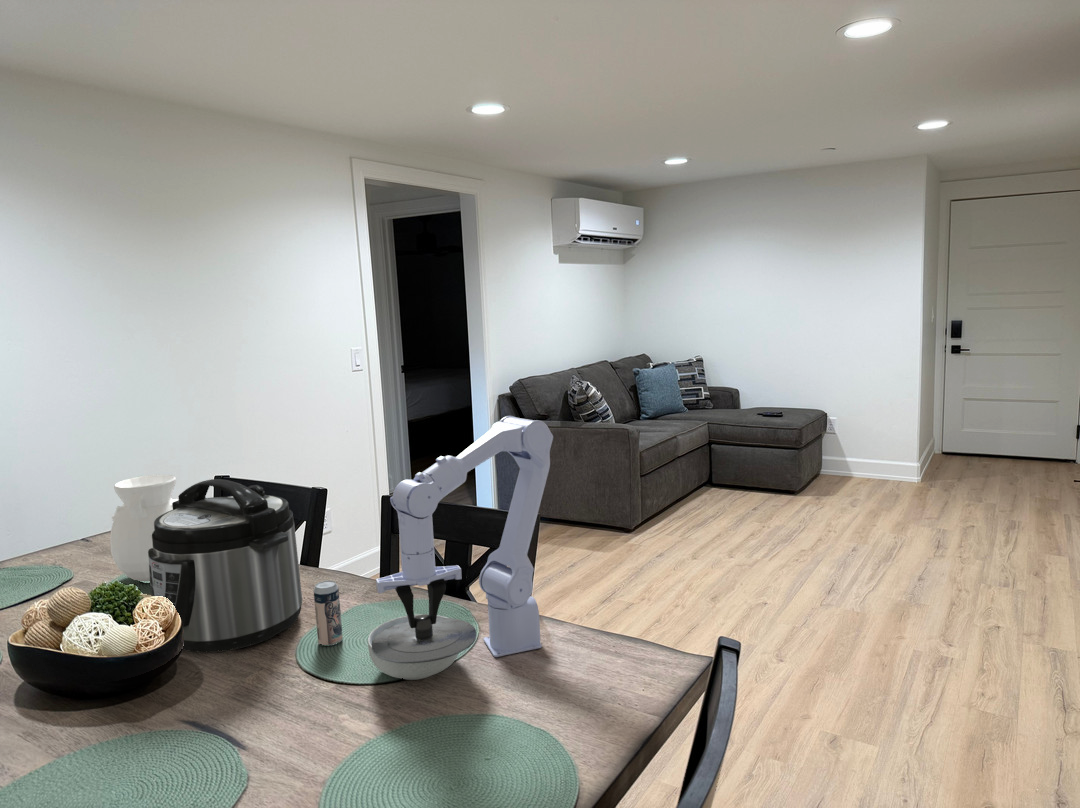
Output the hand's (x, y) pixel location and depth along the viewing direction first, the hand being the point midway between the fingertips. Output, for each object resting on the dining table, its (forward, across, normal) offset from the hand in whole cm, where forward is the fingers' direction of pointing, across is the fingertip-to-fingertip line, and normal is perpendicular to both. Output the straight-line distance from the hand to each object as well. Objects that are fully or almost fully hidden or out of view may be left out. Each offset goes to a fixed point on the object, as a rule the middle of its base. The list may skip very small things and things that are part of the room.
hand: (422, 623), depth 130 cm
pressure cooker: (+11, -33, +38) cm, 51 cm away
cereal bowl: (+11, -1, +4) cm, 11 cm away
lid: (+3, 0, -1) cm, 3 cm away
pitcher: (+10, -52, +79) cm, 95 cm away
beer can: (+11, -14, +22) cm, 29 cm away
